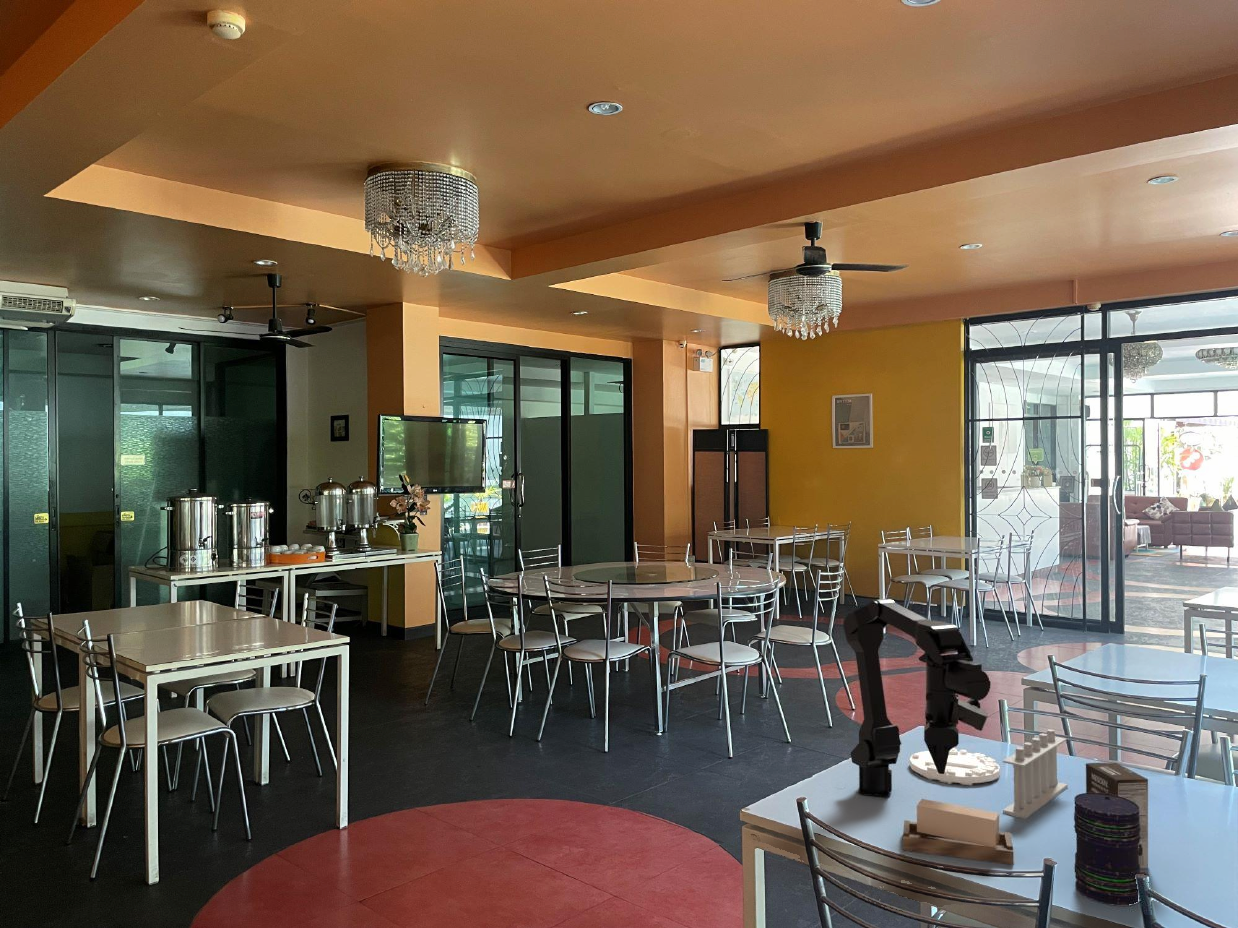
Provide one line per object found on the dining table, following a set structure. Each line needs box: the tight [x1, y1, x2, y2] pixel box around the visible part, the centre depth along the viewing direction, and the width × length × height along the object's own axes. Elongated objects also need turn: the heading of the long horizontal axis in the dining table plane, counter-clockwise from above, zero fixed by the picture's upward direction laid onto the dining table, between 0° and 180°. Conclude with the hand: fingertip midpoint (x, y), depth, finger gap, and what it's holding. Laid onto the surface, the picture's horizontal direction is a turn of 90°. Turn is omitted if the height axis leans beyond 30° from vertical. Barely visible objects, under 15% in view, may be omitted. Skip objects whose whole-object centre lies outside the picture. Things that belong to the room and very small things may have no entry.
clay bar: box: [916, 798, 1000, 848], centre depth 167 cm, size 14×4×5 cm, turn 58°
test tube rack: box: [1002, 728, 1069, 820], centre depth 191 cm, size 25×4×13 cm, turn 135°
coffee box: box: [1085, 762, 1149, 869], centre depth 162 cm, size 9×6×16 cm
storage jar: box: [1073, 792, 1141, 906], centre depth 149 cm, size 10×10×15 cm
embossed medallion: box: [909, 747, 1001, 786], centre depth 210 cm, size 20×20×3 cm
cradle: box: [902, 819, 1015, 865], centre depth 167 cm, size 19×8×3 cm, turn 71°
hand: (941, 765), depth 177 cm, fingers open, 9 cm apart
